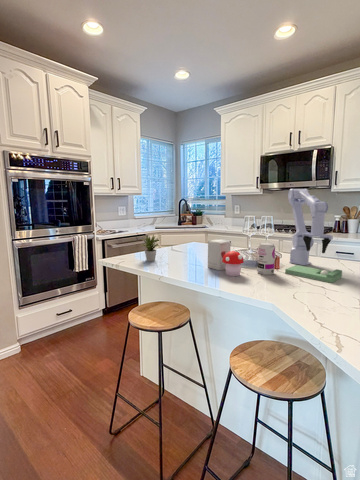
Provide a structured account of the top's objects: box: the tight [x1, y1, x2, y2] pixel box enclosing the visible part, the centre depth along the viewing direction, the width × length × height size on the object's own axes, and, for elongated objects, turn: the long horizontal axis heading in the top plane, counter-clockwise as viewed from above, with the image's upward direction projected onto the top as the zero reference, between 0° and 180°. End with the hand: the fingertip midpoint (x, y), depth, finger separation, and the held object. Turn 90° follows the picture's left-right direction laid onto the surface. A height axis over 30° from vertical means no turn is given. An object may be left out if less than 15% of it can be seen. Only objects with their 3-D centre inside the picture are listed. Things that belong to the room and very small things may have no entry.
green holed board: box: [284, 264, 343, 284], centre depth 134 cm, size 22×12×4 cm, turn 42°
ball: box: [320, 269, 328, 275], centre depth 130 cm, size 4×4×4 cm
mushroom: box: [222, 249, 245, 277], centre depth 136 cm, size 11×11×12 cm
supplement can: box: [256, 242, 276, 276], centre depth 138 cm, size 8×8×15 cm
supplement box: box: [207, 238, 232, 271], centre depth 149 cm, size 9×9×15 cm
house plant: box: [140, 233, 162, 262], centre depth 166 cm, size 14×14×16 cm
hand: (315, 251), depth 141 cm, fingers open, 7 cm apart
